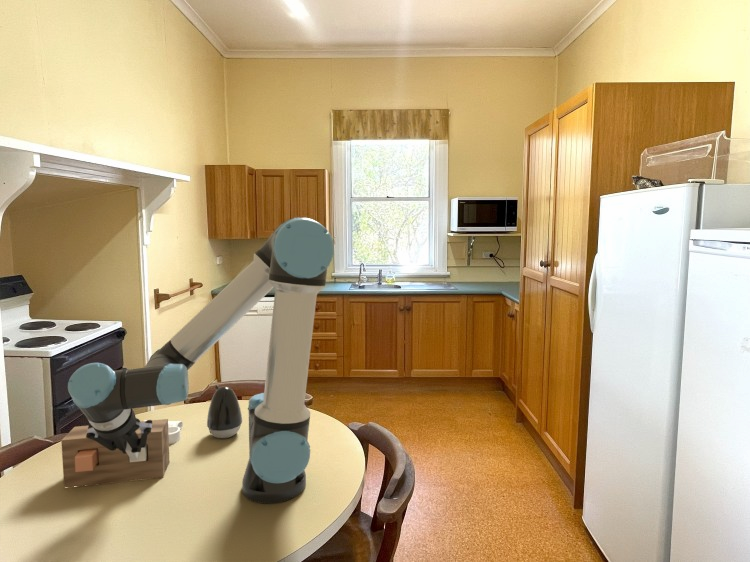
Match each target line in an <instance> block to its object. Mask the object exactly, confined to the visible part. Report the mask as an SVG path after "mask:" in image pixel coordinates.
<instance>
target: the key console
mask: <svg viewBox="0 0 750 562" xmlns="http://www.w3.org/2000/svg"><path fill="white" fill-rule="evenodd" d="M151 420H152V428H151V432H150V433H149V434H148V435H147V441H146V444H148V457H147V459H146V461H138V462H130V458H129V456H128V454H127V453H126V454H124V453H123V452H122V451H120V450H119V449H116V450H114V451H111V450H109V449H107V448H106V447H104V446H103V445H101V444H100V443H98V442H96V441H95V440H93V439H89V438H86V434H87V430H88V426H89V425H81V426H80V425H79V426H74V427H72V429H70V431H69V432H68V433H67V434H66V435H65V436H64V437H63V438H62V439H61V457H62V459H61V460H62V473H63V476H62V477H63V488H64V489H66V488H65V487H72V488H75V487H74V486H81V487H86V486H85V485H90V486H97V485H96V484H99V485H106V484H116V483H125V482H126V483H127V482H132V481H133V482H134V481H143V480H151V479H160V478H161V479H162V478H164V477H165V474H166V472H167V469H168V467H169V464H170V461H171V460H170V444H169V433H168V421H169V419H168V418H165V419H151ZM140 422H146V421H145V420H140ZM135 432H136V433H137V435H138V437H139V438H141V434H142V433H141V430H140V428H139V429H137V430H136V431H135ZM96 448H98V455H99V462H98V464H97V465H96V466H95V468H94V469H93V470H91V471H82V472H75V457H76V455H77V454H78V453H79V452H80V451H81V450H85V449H96Z"/></svg>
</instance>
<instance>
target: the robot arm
mask: <svg viewBox="0 0 750 562" xmlns="http://www.w3.org/2000/svg"><path fill="white" fill-rule="evenodd" d="M334 249H335V246H334V241H333V237H332V235H331V234H330V232H329V231H328V229H327V228H326V227H325V226H324V225H323V224H321V223H320V222H318V221H316V220H315V219H313V218H308V217H293V218H291V219H288V220H285V221H284V222H282V223H280V224H279V225H278V226H277V227H275V229H274V231H273V232H271V235H270V236H269V238H268V239H267V240H266V241H265V242H264V243H263V244H262V246H260V247H259V249H258V250H257V251H255V253H253V260H252V261H251V263H249V265H247V266H246V267H245V268H244V269H243V270H242V271H241V272H240V273H239V274H237V276H236V277H235V278H233V280H231V281H230V282H229V284H227V285H226V286H225V287H224V288H223V289H222V290H221V291H220V292H219V293H217V294H216V296H215V297H213V299H212V300H210V301H209V302H208V303H207V304H206V305H205V306H203V308H201V310H199V311H198V312H197V314H195V316H193V317H192V318H191V319H190V320H189V321H188V322H187V323H185V325H184V326H183V327H182V328H180V330H178V331H177V332H176V333H175V334H174V335H173V336H172V337H171V338H170V339H169V341H167V342H166V343H165V344H164V345H163V346H162V347H160V348H159V349H157V350H156V351H154V353H152V355H151V356H150V357H149V359H148V361H147V363H146V364H145V366H144V367H138V368H128V369H118V370H113V368H111V367H110V366H109V365H107V364H105V363H101V362H91V363H87V364H84V365H81V366H80V367H79V368H77V369H76V370H75V371H74V372H73V373H72V374H71V376H70V377H69V380H68V382H67V391H68V393H69V395H70V397H71V399H72V402H73V404H74V405H75V406H77V408H78V409H79V410H80V412H82V413H83V416H84V417H85V418H86V420H87V421H88V422H89V425H87V426H88V430H87V434H86V438H89V439H93V440H95V441H96V442H98V443H100V444H101V445H103V446H104V447H106V448H107V449H109V450H111V451H114V450H116V449H119V450H120V451H122V452H123V453H124V454H126V453H127V454H128V456H129V457H130V459H131V460H132V461H135V460H139V454H140V452H141V448H144V447H146V441H147V435H148V434H149V433H150V432H151V428H152V420H153V419H146V420H147V421H146V422H140V421H141V419H140V418H137V417H136V414H135V411H134V409H139V408H147V407H154V406H155V407H156V406H162V405H163V406H164V405H165V406H169V405H172V404H175V403H176V404H178V403H181V402H182V403H183V402H185V400H187V398H188V396H189V389H190V382H189V372H188V370H190V369H191V368H192V367H193V365H194V364H195V363H196V362H197V361H199V359H201V358H202V357H203V355H205V354H206V353H207V352H208V351H209V350H210V349H211V348H212V347H213V346H214V345H216V343H217V342H218V341H219V340H220V339H221V338H223V336H225V334H226V333H228V332H229V331H230V330H231V329H232V328H233V327H234V326H235V325H237V323H238V322H239V321H240V320H242V318H243V317H245V316H246V314H248V313H249V312H250V311H251V309H253V308H254V307H255V306H256V305H257V304H258V303H259V302H260V301H261V300H262V299H263V298H264V297H265V296H267V294H268V293H270V292H271V291H272V290H273V289H274V296H273V297H274V299H273V307H272V308H273V309H272V318H271V328H270V334H269V335H270V336H269V344H268V352H267V353H268V354H267V364H266V372H265V379H264V380H265V382H264V392H261V393H257V394H255V395H252V396H251V397H250V398H249V400H248V407H247V411H248V443H249V444H248V445H249V448H248V449H249V456H248V457H249V459H248V461H247V464H246V468H245V471H244V474H243V478H242V486H241V487H242V489H241V490H242V495H243V496H244V497H245V498H246V499H248V500H249V501H251V502H255V503H259V504H278V503H283V502H286V501H290V500H292V499H294V498H296V497H297V496H298V495H301V493H302V492H303V491H304V490H305V487H306V485H307V474H306V470H305V469H307V466H308V465H309V462H310V459H311V446H310V443H309V441H308V439H309V431H310V430H309V428H310V421H311V420H310V419H311V411H310V409H309V408H308V407H307V406H306V405H305V401H306V394H307V393H306V392H307V384H308V374H309V367H310V366H309V365H310V359H311V358H310V357H311V348H312V342H313V341H312V340H313V339H312V338H313V331H314V323H315V314H316V307H317V306H316V305H317V296H318V294H319V293H320V292H322V291H321V290H323V289H324V288H325V287H326V283H327V273H328V268H329V266H330V265H331V262H332V261H333V257H334V253H335V250H334ZM139 428H140V430H141V433H142V434H141V438H139V437H138V435H137V433H136V432H135V431H136V430H137V429H139Z"/></svg>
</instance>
